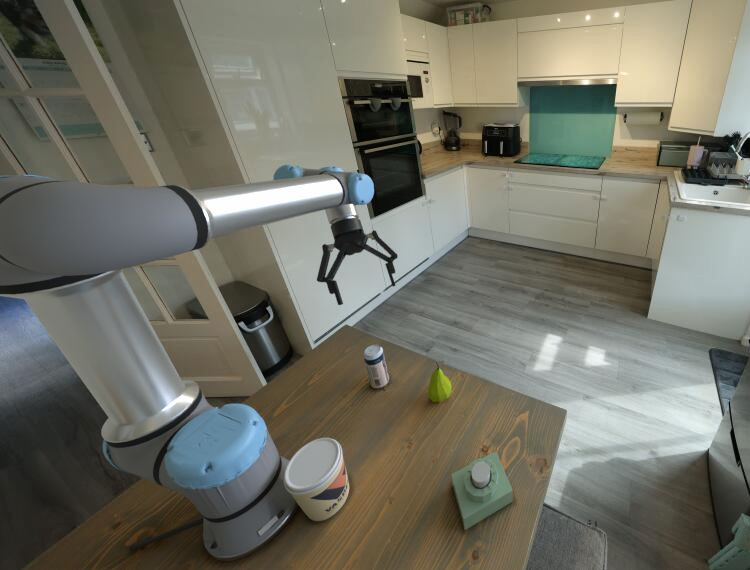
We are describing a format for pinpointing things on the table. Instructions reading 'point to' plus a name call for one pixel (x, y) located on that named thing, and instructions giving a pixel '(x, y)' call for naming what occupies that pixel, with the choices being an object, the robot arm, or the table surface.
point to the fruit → (439, 386)
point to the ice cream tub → (318, 478)
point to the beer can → (376, 366)
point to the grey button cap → (480, 474)
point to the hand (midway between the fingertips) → (368, 295)
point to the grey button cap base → (481, 491)
